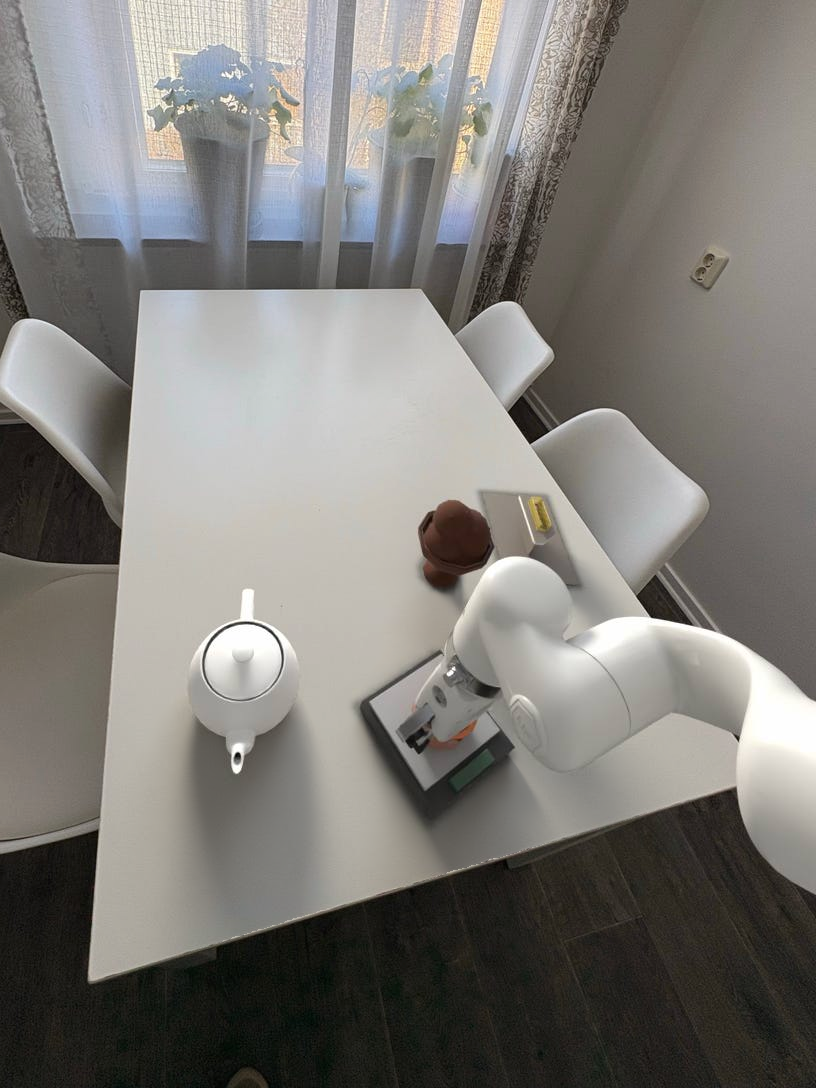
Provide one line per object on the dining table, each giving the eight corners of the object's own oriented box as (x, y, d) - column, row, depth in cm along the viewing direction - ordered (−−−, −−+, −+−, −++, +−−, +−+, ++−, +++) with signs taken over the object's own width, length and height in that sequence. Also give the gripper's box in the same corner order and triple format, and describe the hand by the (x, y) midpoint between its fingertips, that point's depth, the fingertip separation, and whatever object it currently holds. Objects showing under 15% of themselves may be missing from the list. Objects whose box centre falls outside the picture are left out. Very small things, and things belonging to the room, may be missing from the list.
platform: (546, 497, 97) (560, 473, 92) (578, 584, 84) (597, 562, 79) (482, 493, 96) (493, 468, 91) (505, 581, 83) (519, 557, 78)
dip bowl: (477, 731, 64) (490, 716, 60) (434, 765, 61) (445, 751, 57) (441, 681, 68) (451, 665, 64) (399, 711, 65) (407, 695, 61)
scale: (508, 753, 65) (517, 745, 63) (429, 820, 60) (435, 813, 57) (435, 656, 73) (441, 646, 71) (359, 707, 67) (362, 698, 65)
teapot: (199, 613, 74) (193, 571, 67) (297, 612, 76) (301, 571, 68) (176, 797, 59) (163, 770, 51) (299, 791, 60) (305, 764, 53)
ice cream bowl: (413, 605, 78) (437, 547, 68) (401, 542, 86) (421, 482, 76) (482, 604, 80) (516, 547, 69) (464, 542, 87) (492, 483, 77)
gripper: (445, 742, 45) (406, 793, 57) (574, 643, 53) (516, 706, 65) (392, 666, 49) (366, 728, 61) (519, 585, 57) (473, 654, 69)
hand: (443, 717), depth 63 cm, fingers open, 9 cm apart
